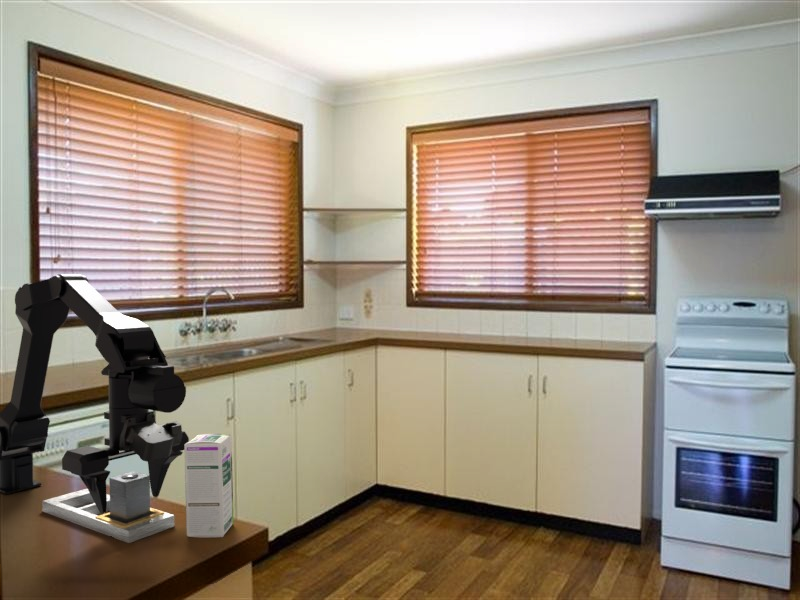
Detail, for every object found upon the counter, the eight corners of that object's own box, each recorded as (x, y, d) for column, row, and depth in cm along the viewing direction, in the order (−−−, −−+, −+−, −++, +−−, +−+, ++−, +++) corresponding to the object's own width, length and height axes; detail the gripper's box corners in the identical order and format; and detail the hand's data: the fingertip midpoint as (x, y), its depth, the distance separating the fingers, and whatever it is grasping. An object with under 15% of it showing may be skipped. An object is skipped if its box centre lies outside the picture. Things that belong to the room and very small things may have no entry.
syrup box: (223, 537, 99) (222, 442, 99) (184, 537, 100) (183, 442, 99) (234, 523, 105) (233, 433, 105) (197, 523, 105) (196, 433, 105)
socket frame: (42, 511, 111) (42, 499, 111) (87, 498, 117) (87, 487, 117) (128, 543, 97) (128, 529, 97) (174, 526, 104) (174, 513, 104)
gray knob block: (110, 528, 103) (109, 476, 103) (134, 520, 107) (133, 470, 106) (126, 534, 101) (125, 481, 101) (150, 526, 104) (149, 474, 104)
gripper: (103, 422, 91) (104, 534, 91) (211, 401, 106) (211, 497, 107) (59, 413, 97) (60, 518, 98) (167, 394, 113) (168, 485, 113)
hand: (130, 504), depth 104 cm, fingers open, 9 cm apart
